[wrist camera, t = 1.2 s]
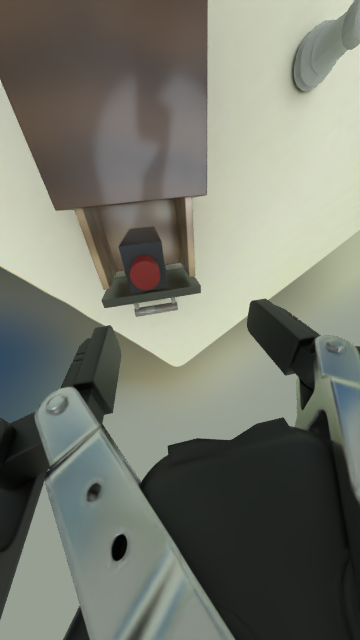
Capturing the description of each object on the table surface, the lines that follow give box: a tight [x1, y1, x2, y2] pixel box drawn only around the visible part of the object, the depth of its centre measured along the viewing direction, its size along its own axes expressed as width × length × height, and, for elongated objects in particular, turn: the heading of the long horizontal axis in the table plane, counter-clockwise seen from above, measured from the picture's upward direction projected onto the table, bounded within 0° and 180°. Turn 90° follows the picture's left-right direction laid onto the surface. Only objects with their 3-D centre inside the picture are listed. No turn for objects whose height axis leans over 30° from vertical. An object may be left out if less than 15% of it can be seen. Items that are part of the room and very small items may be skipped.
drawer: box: [74, 197, 201, 317], centre depth 24 cm, size 19×13×8 cm
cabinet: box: [0, 0, 207, 210], centre depth 16 cm, size 16×15×10 cm
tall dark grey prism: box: [118, 226, 168, 293], centre depth 20 cm, size 4×4×15 cm
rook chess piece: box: [294, 0, 360, 91], centre depth 17 cm, size 4×4×8 cm
